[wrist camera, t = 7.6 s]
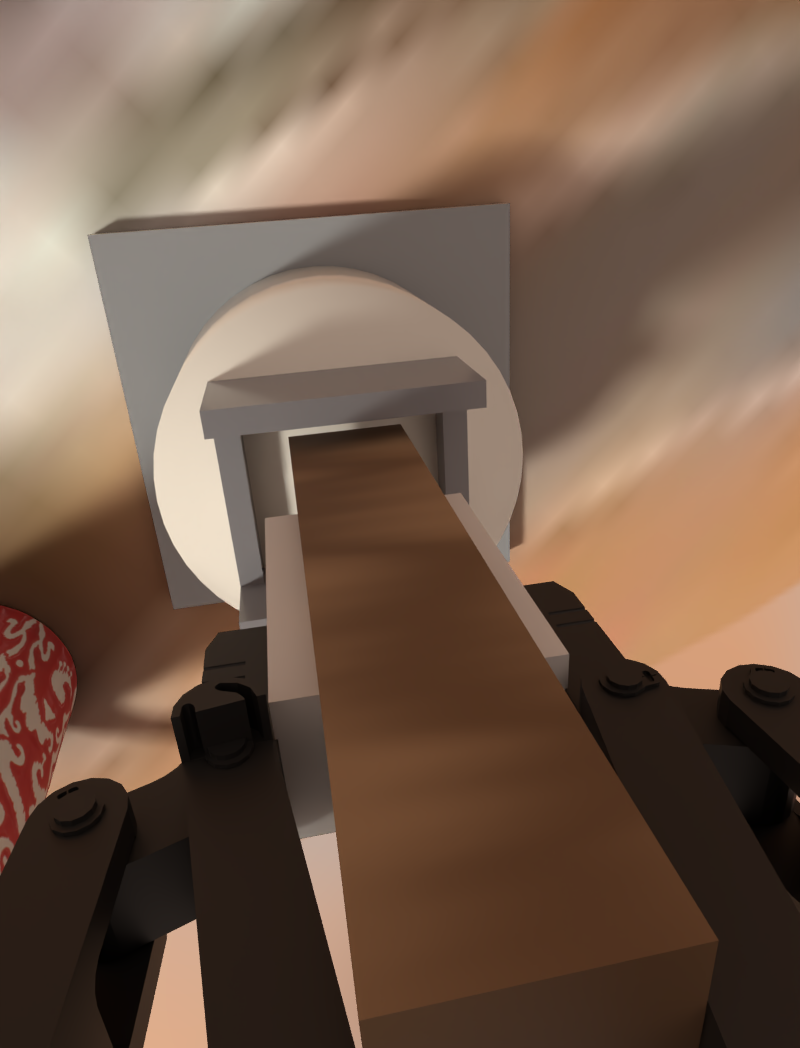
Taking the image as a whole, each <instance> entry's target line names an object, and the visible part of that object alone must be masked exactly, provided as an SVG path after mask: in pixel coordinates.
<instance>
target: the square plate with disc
mask: <svg viewBox="0 0 800 1048" xmlns="http://www.w3.org/2000/svg"><path fill="white" fill-rule="evenodd" d="M88 239H89V243H90V248H91V252H92V256H93V261H94V265H95V270H96V274H97V278H98V283H99V287H100V291H101V296H102V300H103V304H104V309H105V313H106V317H107V322H108V326H109V330H110V335H111V339H112V344H113V348H114V352H115V357H116V361H117V365H118V370H119V374H120V378H121V383H122V387H123V391H124V396H125V400H126V404H127V409H128V413H129V418H130V422H131V426H132V431H133V435H134V439H135V444H136V448H137V452H138V457H139V461H140V465H141V470H142V474H143V478H144V483H145V487H146V492H147V496H148V500H149V505H150V509H151V513H152V518H153V522H154V526H155V531H156V535H157V539H158V544H159V548H160V552H161V557H162V561H163V565H164V570H165V574H166V579H167V583H168V587H169V592H170V596H171V600H172V605H173V609H180V608H187V607H194V606H201V605H208V604H215V603H222V602H226V603H228V604H229V605H231V606H232V607H234V608H235V609H237V610H239V626H240V630H241V629H247V628H254V627H261V626H267V604H266V553H265V518H270V517H278V516H286V515H293V514H298V513H297V505H296V497H295V489H294V480H293V472H292V464H291V455H290V447H289V439H288V437H291V436H300V435H309V434H317V433H326V432H335V431H343V430H352V429H361V428H370V427H378V426H387V425H396V424H401V426H402V427H403V429H404V430H405V432H406V434H407V435H408V437H409V438H410V440H411V442H412V443H413V445H414V447H415V448H416V450H417V451H418V453H419V455H420V456H421V458H422V460H423V461H424V463H425V464H426V466H427V468H428V469H429V471H430V473H431V474H432V476H433V477H434V479H435V481H436V482H437V484H438V486H439V487H440V489H441V490H442V492H443V494H444V495H448V494H456V493H461V494H462V495H463V497H464V498H465V500H466V501H467V503H468V504H469V506H470V507H471V509H472V510H473V512H474V513H475V515H476V516H477V518H478V519H479V521H480V522H481V524H482V525H483V527H484V528H485V530H486V531H487V533H488V534H489V536H490V537H491V539H492V540H493V541H494V543H495V544H496V546H497V547H498V549H499V550H500V552H501V553H502V555H503V556H504V558H505V559H506V561H507V562H509V561H510V519H511V516H512V513H513V510H514V507H515V504H516V501H517V497H518V493H519V488H520V483H521V478H522V464H523V447H522V433H521V428H520V423H519V418H518V413H517V410H516V407H515V404H514V401H513V398H512V395H511V392H510V203H496V204H483V205H469V206H456V207H443V208H430V209H416V210H403V211H390V212H377V213H363V214H350V215H337V216H324V217H310V218H297V219H284V220H271V221H257V222H244V223H231V224H218V225H204V226H191V227H178V228H164V229H151V230H138V231H125V232H111V233H98V234H90V235H88Z"/></svg>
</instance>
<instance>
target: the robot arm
mask: <svg viewBox="0 0 800 1048" xmlns="http://www.w3.org/2000/svg"><path fill="white" fill-rule="evenodd" d="M445 497H446V499H447V500H448V502H449V503H450V505H451V507H452V508H453V510H454V512H455V513H456V515H457V516H458V518H459V520H460V521H461V523H462V525H463V526H464V528H465V529H466V531H467V533H468V534H469V536H470V537H471V539H472V541H473V542H474V544H475V546H476V547H477V549H478V550H479V552H480V554H481V555H482V557H483V559H484V560H485V562H486V563H487V565H488V567H489V568H490V570H491V572H492V573H493V575H494V576H495V578H496V580H497V581H498V583H499V585H500V586H501V588H502V589H503V591H504V593H505V594H506V596H507V598H508V599H509V601H510V602H511V604H512V606H513V607H514V609H515V611H516V612H517V614H518V615H519V617H520V619H521V620H522V622H523V624H524V625H525V627H526V628H527V630H528V632H529V633H530V635H531V636H532V638H533V640H534V641H535V643H536V645H537V646H538V648H539V649H540V651H541V653H542V654H543V656H544V658H545V659H546V661H547V662H548V664H549V666H550V667H551V669H552V671H553V672H554V674H555V675H556V677H557V679H558V680H559V682H560V684H561V685H562V687H563V688H564V690H565V692H566V693H567V695H568V697H569V698H570V700H571V701H572V703H573V705H574V706H575V708H576V710H577V711H578V713H579V714H580V716H581V718H582V719H583V721H584V723H585V724H586V726H587V727H588V729H589V731H590V732H591V734H592V735H593V737H594V739H595V740H596V742H597V744H598V745H599V747H600V748H601V750H602V752H603V753H604V755H605V757H606V758H607V760H608V761H609V763H610V765H611V766H612V768H613V770H614V771H615V773H616V774H617V776H618V778H619V779H620V781H621V783H622V784H623V786H624V787H625V789H626V791H627V792H628V794H629V796H630V797H631V799H632V800H633V802H634V804H635V805H636V807H637V809H638V810H639V812H640V813H641V815H642V817H643V818H644V820H645V822H646V823H647V825H648V826H649V828H650V830H651V831H652V833H653V834H654V836H655V838H656V839H657V841H658V843H659V844H660V846H661V847H662V849H663V851H664V852H665V854H666V856H667V857H668V859H669V860H670V862H671V864H672V865H673V867H674V869H675V870H676V872H677V873H678V875H679V877H680V878H681V880H682V882H683V883H684V885H685V886H686V888H687V890H688V891H689V893H690V895H691V896H692V898H693V899H694V901H695V903H696V904H697V906H698V908H699V909H700V911H701V912H702V914H703V916H704V917H705V919H706V921H707V922H708V924H709V925H710V927H711V929H712V930H713V932H714V934H715V935H716V937H717V938H718V940H719V942H718V947H717V952H716V958H715V963H714V969H713V974H712V979H711V985H710V990H709V996H708V1001H707V1006H706V1012H705V1017H704V1023H703V1028H702V1033H701V1039H700V1044H699V1048H800V803H799V802H798V801H797V800H796V795H797V796H798V797H800V678H799V677H797V676H795V675H794V674H792V673H790V672H788V671H785V670H782V669H779V668H776V667H773V666H766V665H758V664H749V665H739V666H736V667H734V668H732V669H730V670H727V671H726V673H725V674H724V675H723V677H722V678H721V682H720V689H719V690H709V689H692V688H680V687H672V686H669V685H668V684H667V682H666V680H665V679H664V678H663V677H662V676H661V675H660V674H659V673H658V671H656V670H654V669H653V668H651V667H649V666H647V665H645V664H644V663H640V662H636V661H633V660H629V659H625V658H624V657H623V655H622V654H621V653H620V651H619V650H618V649H617V648H616V646H615V645H614V644H613V643H612V641H611V640H610V639H609V637H608V636H607V635H606V634H605V632H604V631H603V630H602V629H601V627H600V626H599V625H598V624H597V622H594V618H593V617H592V616H591V615H590V613H589V612H588V611H587V610H585V607H584V606H583V604H582V603H581V602H580V601H579V599H578V598H577V597H576V596H575V594H574V593H573V592H571V591H570V590H568V589H566V588H564V587H562V586H561V585H559V584H557V583H555V582H554V581H552V582H545V583H538V584H531V585H525V586H523V585H522V583H521V582H520V580H519V579H518V577H517V576H516V574H515V573H514V571H513V570H512V568H511V567H510V565H509V564H508V562H507V561H506V559H505V558H504V556H503V555H502V553H501V552H500V550H499V549H498V547H497V546H496V544H495V543H494V541H493V540H492V539H491V537H490V536H489V534H488V533H487V531H486V530H485V528H484V527H483V525H482V524H481V522H480V521H479V519H478V518H477V516H476V515H475V513H474V512H473V510H472V509H471V507H470V506H469V504H468V503H467V501H466V500H465V498H464V497H463V495H462V494H461V493H456V494H448V495H445ZM265 553H266V604H267V626H261V627H254V628H247V629H241V630H234V631H227V632H220V633H218V634H217V635H216V637H215V638H214V639H213V641H212V642H211V643H210V645H209V646H208V647H207V649H206V651H205V659H204V671H203V676H202V684H200V685H197V686H196V687H194V688H193V689H191V690H190V691H188V692H187V693H185V694H184V695H182V697H181V698H180V699H179V700H178V702H177V703H176V704H175V705H174V707H173V711H172V715H171V721H172V725H173V729H174V733H175V737H176V741H177V745H178V749H179V753H180V757H181V761H182V763H181V764H180V765H179V766H178V767H177V768H176V769H174V770H173V771H172V772H170V773H169V774H167V775H166V776H164V777H162V778H160V779H158V780H156V781H154V782H152V783H150V784H147V785H145V786H143V787H140V788H138V789H135V790H133V791H130V792H128V793H127V792H126V790H125V789H124V787H123V786H122V784H120V783H118V782H115V781H113V780H111V779H106V778H90V779H86V780H82V781H77V782H73V783H71V784H69V785H67V786H65V787H63V788H61V789H59V790H57V791H55V792H53V793H52V794H51V795H49V796H48V797H47V798H46V799H44V800H43V801H42V802H41V803H39V804H38V805H37V807H36V808H35V809H34V811H33V812H32V814H31V815H30V816H29V818H28V819H27V821H26V823H25V825H24V827H23V829H22V831H21V833H20V835H19V837H18V839H17V842H16V844H15V846H14V848H13V850H12V852H11V854H10V856H9V858H8V860H7V862H6V864H5V867H4V869H3V871H2V873H1V875H0V1048H143V1045H144V1041H145V1036H146V1031H147V1027H148V1022H149V1017H150V1013H151V1009H152V1004H153V1000H154V995H155V990H156V986H157V981H158V977H159V972H160V967H161V963H162V958H163V953H164V949H165V944H166V940H167V933H169V932H171V931H173V930H175V929H177V928H179V927H181V926H183V925H185V924H187V923H189V922H191V921H193V920H195V919H196V921H197V932H198V943H199V954H200V965H201V976H202V986H203V997H204V1008H205V1020H206V1030H207V1042H208V1048H355V1045H354V1041H353V1037H352V1034H351V1030H350V1026H349V1022H348V1018H347V1015H346V1011H345V1007H344V1003H343V999H342V996H341V992H340V988H339V984H338V981H337V977H336V973H335V969H334V966H333V962H332V958H331V954H330V951H329V947H328V943H327V940H326V935H325V932H324V928H323V924H322V920H321V917H320V913H319V909H318V905H317V902H316V898H315V895H314V890H313V887H312V883H311V879H310V875H309V871H308V868H307V864H306V860H305V856H304V853H303V849H302V845H301V841H300V839H302V838H307V837H313V836H318V835H323V834H328V833H334V832H336V828H335V820H334V812H333V803H332V795H331V787H330V779H329V770H328V762H327V754H326V745H325V737H324V729H323V721H322V712H321V704H320V696H319V687H318V679H317V671H316V663H315V654H314V646H313V638H312V629H311V621H310V613H309V605H308V596H307V588H306V580H305V571H304V563H303V555H302V547H301V538H300V530H299V522H298V514H293V515H286V516H278V517H270V518H265Z"/></svg>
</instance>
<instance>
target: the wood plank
mask: <svg viewBox="0 0 800 1048" xmlns="http://www.w3.org/2000/svg"><path fill="white" fill-rule="evenodd" d="M288 439H289V447H290V455H291V464H292V472H293V480H294V489H295V497H296V505H297V513H298V522H299V530H300V538H301V547H302V555H303V563H304V571H305V580H306V588H307V596H308V605H309V613H310V621H311V629H312V638H313V646H314V654H315V663H316V671H317V679H318V687H319V696H320V704H321V712H322V721H323V729H324V737H325V745H326V754H327V762H328V770H329V779H330V787H331V795H332V803H333V812H334V820H335V828H336V837H337V845H338V852H339V861H340V870H341V877H342V886H343V894H344V902H345V911H346V919H347V928H348V936H349V944H350V953H351V961H352V969H353V977H354V986H355V994H356V1002H357V1011H358V1019H359V1026H360V1032H361V1040H362V1047H363V1048H699V1044H700V1039H701V1033H702V1028H703V1023H704V1017H705V1012H706V1006H707V1001H708V996H709V990H710V985H711V979H712V974H713V969H714V963H715V958H716V952H717V947H718V942H719V940H718V938H717V937H716V935H715V934H714V932H713V930H712V929H711V927H710V925H709V924H708V922H707V921H706V919H705V917H704V916H703V914H702V912H701V911H700V909H699V908H698V906H697V904H696V903H695V901H694V899H693V898H692V896H691V895H690V893H689V891H688V890H687V888H686V886H685V885H684V883H683V882H682V880H681V878H680V877H679V875H678V873H677V872H676V870H675V869H674V867H673V865H672V864H671V862H670V860H669V859H668V857H667V856H666V854H665V852H664V851H663V849H662V847H661V846H660V844H659V843H658V841H657V839H656V838H655V836H654V834H653V833H652V831H651V830H650V828H649V826H648V825H647V823H646V822H645V820H644V818H643V817H642V815H641V813H640V812H639V810H638V809H637V807H636V805H635V804H634V802H633V800H632V799H631V797H630V796H629V794H628V792H627V791H626V789H625V787H624V786H623V784H622V783H621V781H620V779H619V778H618V776H617V774H616V773H615V771H614V770H613V768H612V766H611V765H610V763H609V761H608V760H607V758H606V757H605V755H604V753H603V752H602V750H601V748H600V747H599V745H598V744H597V742H596V740H595V739H594V737H593V735H592V734H591V732H590V731H589V729H588V727H587V726H586V724H585V723H584V721H583V719H582V718H581V716H580V714H579V713H578V711H577V710H576V708H575V706H574V705H573V703H572V701H571V700H570V698H569V697H568V695H567V693H566V692H565V690H564V688H563V687H562V685H561V684H560V682H559V680H558V679H557V677H556V675H555V674H554V672H553V671H552V669H551V667H550V666H549V664H548V662H547V661H546V659H545V658H544V656H543V654H542V653H541V651H540V649H539V648H538V646H537V645H536V643H535V641H534V640H533V638H532V636H531V635H530V633H529V632H528V630H527V628H526V627H525V625H524V624H523V622H522V620H521V619H520V617H519V615H518V614H517V612H516V611H515V609H514V607H513V606H512V604H511V602H510V601H509V599H508V598H507V596H506V594H505V593H504V591H503V589H502V588H501V586H500V585H499V583H498V581H497V580H496V578H495V576H494V575H493V573H492V572H491V570H490V568H489V567H488V565H487V563H486V562H485V560H484V559H483V557H482V555H481V554H480V552H479V550H478V549H477V547H476V546H475V544H474V542H473V541H472V539H471V537H470V536H469V534H468V533H467V531H466V529H465V528H464V526H463V525H462V523H461V521H460V520H459V518H458V516H457V515H456V513H455V512H454V510H453V508H452V507H451V505H450V503H449V502H448V500H447V499H446V497H445V495H444V494H443V492H442V490H441V489H440V487H439V486H438V484H437V482H436V481H435V479H434V477H433V476H432V474H431V473H430V471H429V469H428V468H427V466H426V464H425V463H424V461H423V460H422V458H421V456H420V455H419V453H418V451H417V450H416V448H415V447H414V445H413V443H412V442H411V440H410V438H409V437H408V435H407V434H406V432H405V430H404V429H403V427H402V426H401V424H396V425H387V426H378V427H370V428H361V429H352V430H343V431H335V432H326V433H317V434H309V435H300V436H291V437H288Z"/></svg>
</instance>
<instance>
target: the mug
mask: <svg viewBox="0 0 800 1048" xmlns="http://www.w3.org/2000/svg"><path fill="white" fill-rule="evenodd" d="M76 690H77V674H76V669H75V666H74V663H73V660H72V657H71V655H70V653H69V651H68V650H67V648H66V647H65V645H64V644H63V643H62V642H61V640H60V639H59V638H58V637H57V636H56V635H55V634H54V633H53V632H52V631H51V630H50V629H49V628H47V627H46V626H45V625H44V624H42V623H41V622H39V621H38V620H36V619H34V618H33V617H31V616H29V615H27V614H25V613H23V612H21V611H18V610H16V609H12V608H9V607H5V606H1V605H0V875H1V873H2V871H3V869H4V867H5V864H6V862H7V860H8V858H9V856H10V854H11V852H12V850H13V848H14V846H15V844H16V842H17V839H18V837H19V835H20V833H21V831H22V829H23V827H24V825H25V823H26V821H27V819H28V818H29V816H30V815H31V814H32V812H33V811H34V809H35V808H36V807H37V805H38V804H39V803H41V802H42V801H43V800H44V799H46V795H47V792H48V789H49V786H50V783H51V779H52V776H53V772H54V769H55V766H56V762H57V758H58V754H59V751H60V748H61V744H62V741H63V737H64V734H65V732H66V728H67V725H68V722H69V719H70V716H71V713H72V709H73V706H74V702H75V697H76Z"/></svg>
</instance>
